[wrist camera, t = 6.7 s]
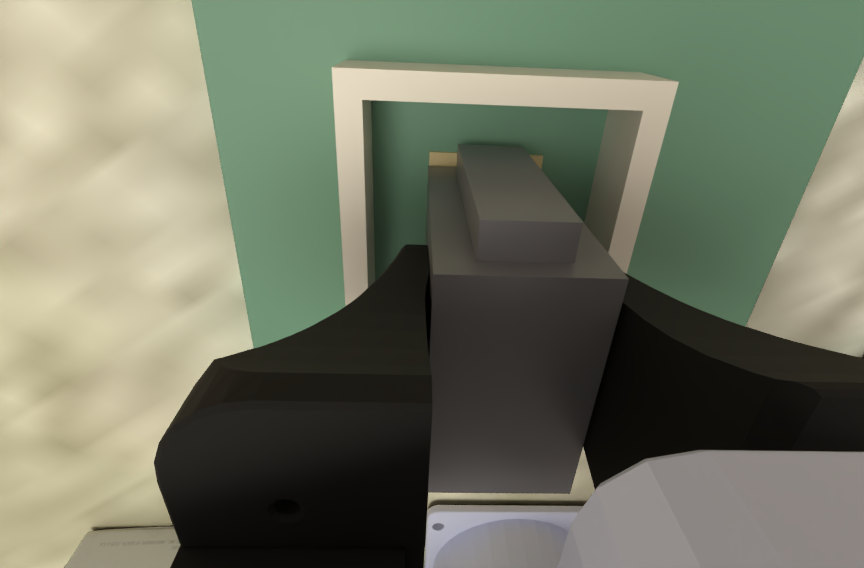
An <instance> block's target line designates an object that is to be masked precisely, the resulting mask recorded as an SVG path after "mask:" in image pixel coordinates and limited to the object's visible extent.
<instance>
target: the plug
mask: <svg viewBox="0 0 864 568" xmlns="http://www.w3.org/2000/svg"><path fill="white" fill-rule="evenodd" d="M425 245H428V251H429V265H430V274H429V298H428V322H427V343H428V354H429V362H430V369H431V374H432V428H431V447H430V465H429V484H428V492H442V493H562V494H570V491H571V488H572V484H573V480H574V477H575V473H576V469H577V466H578V462H579V459H580V455H581V451H582V448H583V444H584V440H585V437H586V433H587V430H588V426H589V422H590V419H591V415H592V411H593V408H594V404H595V401H596V397H597V393H598V390H599V386H600V382H601V379H602V375H603V372H604V368H605V364H606V361H607V357H608V354H609V350H610V346H611V343H612V339H613V335H614V332H615V328H616V325H617V321H618V317H619V314H620V310H621V306H622V303H623V299H624V296H625V292H626V288H627V285H628V281H629V279H628V277H627V276H626V275H625V274H624V272H623V271H622V270H621V269H620V267H619V266H618V265H617V264H616V262H615V261H614V260H613V259H612V257H611V256H610V255H609V253H608V252H607V251H606V250H605V248H604V247H603V246H602V245H601V243H600V242H599V241H598V240H597V238H596V237H595V236H594V235H593V233H592V232H591V231H590V230H589V228H588V227H587V226H586V225H585V223H584V222H583V221H582V220H581V218H580V217H579V216H578V215H577V213H576V212H575V211H574V210H573V208H572V207H571V206H570V205H569V203H568V202H567V201H566V200H565V198H564V197H563V196H562V195H561V193H560V192H559V191H558V190H557V188H556V187H555V186H554V185H553V183H552V182H551V181H550V180H549V178H548V177H547V176H546V175H545V173H544V172H543V171H542V170H541V169H540V168H539V167H538V165H537V164H536V163H535V162H534V160H533V159H532V158H531V157H530V155H529V154H528V153H527V152H526V150H525V149H524V148H523V147H520V146H492V145H464V144H458V151H457V166H456V167H439V166H428V184H427V212H426V240H425Z"/></svg>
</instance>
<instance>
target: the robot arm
mask: <svg viewBox="0 0 864 568" xmlns="http://www.w3.org/2000/svg"><path fill="white" fill-rule="evenodd" d="M429 274H430V265H429V251H428V245H412V244H406V245H405V246H404V247H402V248H401V250H400V252H399V253H398V255H397V256H396V257H395V259H394V260H393V261H392V263H391V264H390V265H389V266H388V267H387V269H386V270H385V271H384V272H383V273H382V274H381V275H380V277H379V278H378V279H377V280H376V281H375V282H374V283H373V284H372V285H371V286H369V287H368V288H367V289H366V290H365V291H364V292H363V293H362V294H361V295H360V296H359V297H357V298H356V299H355V300H354V301H352V302H351V303H349V304H348V305H347V306H345V307H344V308H342V309H341V310H339V311H338V312H336V313H334V314H332V315H330V316H329V317H327V318H325V319H323V320H321V321H320V322H318V323H316V324H314V325H312V326H311V327H308V328H306V329H304V330H302V331H300V332H297V333H295V334H293V335H291V336H288V337H285V338H283V339H280V340H278V341H275V342H272V343H270V344H267V345H264V346H261V347H257V348H254V349H251V350H247V351H244V352H240V353H237V354H234V355H230V356H227V357H223V358H219V359H215V360H214V361H213V362H212V363H211V365H210V366H209V367H208V369H207V370H206V371H205V373H204V374H203V375H202V376H201V378H200V379H199V380H198V382H197V383H196V384H195V386H194V387H193V389H192V391H191V392H190V394H189V395H188V397H187V398H186V400H185V401H184V403H183V405H182V406H181V408H180V410H179V411H178V413H177V414H176V416H175V418H174V419H173V421H172V423H171V424H170V426H169V428H168V429H167V431H166V432H165V434H164V436H163V437H162V439H161V441H160V442H159V445H158V449H157V453H156V457H155V461H154V465H155V471H156V477H157V482H158V485H159V488H160V491H161V493H162V496H163V499H164V502H165V504H166V507H167V510H168V513H169V515H170V518H171V521H172V524H173V526H174V529H175V532H176V535H177V537H178V540H179V543H180V547H179V549H178V552H177V554H176V556H175V558H174V560H173V563H172V565H171V567H170V568H423V566H424V568H864V358H859V357H855V356H850V355H846V354H842V353H837V352H833V351H829V350H825V349H821V348H817V347H813V346H808V345H805V344H801V343H798V342H794V341H790V340H787V339H783V338H779V337H776V336H773V335H770V334H767V333H764V332H760V331H757V330H754V329H751V328H748V327H745V326H742V325H739V324H736V323H733V322H730V321H727V320H725V319H722V318H720V317H717V316H715V315H712V314H710V313H707V312H705V311H702V310H699V309H697V308H695V307H692V306H690V305H688V304H685V303H683V302H681V301H679V300H677V299H675V298H673V297H671V296H668V295H666V294H664V293H662V292H660V291H658V290H656V289H654V288H652V287H650V286H648V285H646V284H645V283H643V282H641V281H639V280H637V279H635V278H633V277H632V276H630V275H628V274H626V273H624V274H625V275H626V276H627V277H628V279H629V281H628V285H627V288H626V292H625V296H624V299H623V303H622V306H621V310H620V314H619V317H618V321H617V325H616V328H615V332H614V335H613V339H612V343H611V346H610V350H609V354H608V357H607V361H606V364H605V368H604V372H603V375H602V379H601V382H600V386H599V390H598V393H597V397H596V401H595V404H594V408H593V411H592V415H591V419H590V422H589V426H588V430H587V433H586V437H585V440H584V444H583V447H584V451H585V454H586V458H587V461H588V465H589V469H590V472H591V476H592V480H593V483H594V487H595V491H594V492H593V494H592V495H591V497H590V498H589V499H588V501H587V502H586V503H585V505H584V506H518V505H435V506H432V507H431V508H429V509H428V511H427V502H428V484H429V465H430V447H431V428H432V374H431V369H430V362H429V354H428V343H427V322H428V298H429ZM426 521H427V524H426ZM425 539H426V543H425ZM424 547H425V561H424Z"/></svg>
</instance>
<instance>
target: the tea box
mask: <svg viewBox="0 0 864 568" xmlns="http://www.w3.org/2000/svg"><path fill="white" fill-rule="evenodd" d="M179 547H180V543H179V540H178V537H177V535H176V532H175V529H174V526H171V527H143V528H125V529H106V530H98V531H91V532H88V533H87V534H86V535H85V537H84V538H83V540H82V541H81V543H80V544H79V546H78V547H77V549H76V551H75V552H74V554H73V555H72V557H71V558H70V560H69V561H68V563H67V564H66V565H65V567H64V568H170V567H171V565H172V563H173V560H174V558H175V556H176V554H177V552H178V549H179Z"/></svg>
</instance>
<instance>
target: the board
mask: <svg viewBox="0 0 864 568" xmlns="http://www.w3.org/2000/svg"><path fill="white" fill-rule="evenodd" d="M192 6H193V12H194V17H195V23H196V28H197V34H198V39H199V45H200V51H201V56H202V62H203V67H204V73H205V79H206V84H207V90H208V95H209V101H210V107H211V112H212V118H213V123H214V129H215V134H216V140H217V146H218V151H219V157H220V162H221V168H222V174H223V179H224V185H225V190H226V196H227V202H228V207H229V213H230V218H231V224H232V229H233V235H234V241H235V246H236V252H237V257H238V263H239V269H240V274H241V280H242V285H243V291H244V297H245V302H246V308H247V313H248V319H249V325H250V330H251V336H252V341H253V347H254V348H257V347H261V346H264V345H267V344H270V343H272V342H275V341H278V340H280V339H283V338H285V337H288V336H291V335H293V334H295V333H297V332H300V331H302V330H304V329H306V328H308V327H311V326H312V325H314V324H316V323H318V322H320V321H321V320H323V319H325V318H327V317H329V316H330V315H332V314H334V313H336V312H338V311H339V310H341V309H342V308H344V307H345V306H347V305H348V304H349V303H351V302H352V301H354V300H355V299H356V298H357V297H359V296H360V295H361V294H362V293H363V292H364V291H365V290H366V289H367V288H368V287H369V286H371V285H372V284H373V283H374V282H375V281H376V280H377V279H378V278H379V277H380V275H381V274H382V273H383V272H384V271H385V270H386V269H387V267H388V266H389V265H390V264H391V263H392V261H393V260H394V259H395V257H396V256H397V255H398V253H399V252H400V250H401V248H402V247H404V246H405V245H406V244H412V245H425V240H426V212H427V184H428V166H439V167H456V166H457V151H458V144H464V145H492V146H520V147H523V148H524V149H525V150H526V152H527V153H528V154H529V155H530V157H531V158H532V159H533V160H534V162H535V163H536V164H537V165H538V167H539V168H540V169H541V170H542V171H543V172H544V173H545V175H546V176H547V177H548V178H549V180H550V181H551V182H552V183H553V185H554V186H555V187H556V188H557V190H558V191H559V192H560V193H561V195H562V196H563V197H564V198H565V200H566V201H567V202H568V203H569V205H570V206H571V207H572V208H573V210H574V211H575V212H576V213H577V215H578V216H579V217H580V218H581V220H582V221H583V222H584V223H585V225H586V226H587V227H588V228H589V230H590V231H591V232H592V233H593V235H594V236H595V237H596V238H597V240H598V241H599V242H600V243H601V245H602V246H603V247H604V248H605V250H606V251H607V252H608V253H609V255H610V256H611V257H612V259H613V260H614V261H615V262H616V264H617V265H618V266H619V267H620V269H621V270H622V271H623V272H624V273H626V274H628V275H630V276H632V277H633V278H635V279H637V280H639V281H641V282H643V283H645V284H646V285H648V286H650V287H652V288H654V289H656V290H658V291H660V292H662V293H664V294H666V295H668V296H671V297H673V298H675V299H677V300H679V301H681V302H683V303H685V304H688V305H690V306H692V307H695V308H697V309H699V310H702V311H705V312H707V313H710V314H712V315H715V316H717V317H720V318H722V319H725V320H727V321H730V322H733V323H736V324H739V325H742V326H746V324H747V322H748V319H749V317H750V315H751V313H752V310H753V308H754V306H755V303H756V301H757V299H758V297H759V294H760V292H761V290H762V287H763V285H764V283H765V281H766V278H767V276H768V274H769V272H770V269H771V267H772V265H773V262H774V260H775V258H776V256H777V253H778V251H779V249H780V246H781V244H782V242H783V240H784V237H785V235H786V233H787V230H788V228H789V226H790V224H791V221H792V219H793V217H794V214H795V212H796V210H797V208H798V205H799V203H800V201H801V198H802V196H803V194H804V192H805V189H806V187H807V185H808V182H809V180H810V178H811V176H812V173H813V171H814V169H815V166H816V164H817V162H818V160H819V157H820V155H821V153H822V150H823V148H824V146H825V144H826V141H827V139H828V137H829V135H830V132H831V130H832V128H833V125H834V123H835V121H836V119H837V116H838V114H839V112H840V109H841V107H842V105H843V103H844V100H845V98H846V96H847V93H848V91H849V89H850V87H851V84H852V82H853V80H854V77H855V75H856V73H857V71H858V68H859V66H860V64H861V61H862V59H863V57H864V0H192Z"/></svg>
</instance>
